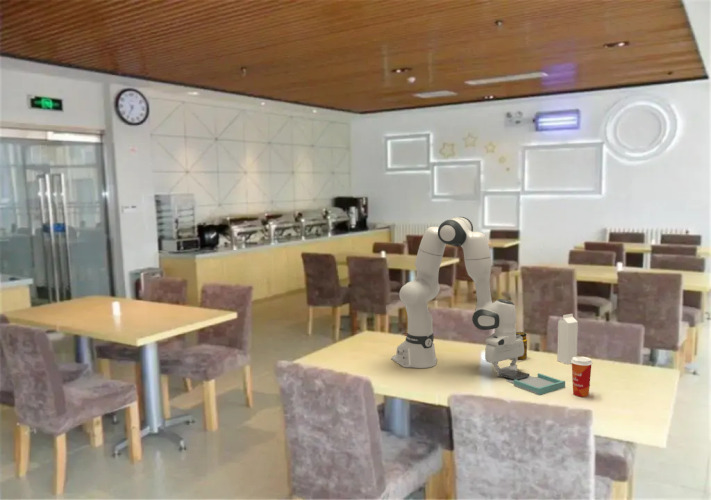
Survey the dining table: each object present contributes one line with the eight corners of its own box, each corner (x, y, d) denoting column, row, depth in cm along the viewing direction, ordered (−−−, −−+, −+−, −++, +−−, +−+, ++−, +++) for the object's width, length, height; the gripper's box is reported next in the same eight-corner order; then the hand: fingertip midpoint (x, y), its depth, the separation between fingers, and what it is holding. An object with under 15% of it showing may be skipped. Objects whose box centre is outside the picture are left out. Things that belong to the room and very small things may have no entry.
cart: (497, 377, 246) (497, 369, 245) (515, 372, 252) (515, 364, 251) (513, 382, 238) (513, 373, 238) (532, 377, 244) (531, 368, 244)
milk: (557, 361, 267) (557, 313, 264) (566, 359, 269) (567, 312, 267) (567, 364, 261) (568, 316, 259) (577, 362, 264) (578, 314, 262)
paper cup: (566, 391, 228) (567, 356, 226) (585, 390, 229) (586, 355, 227) (575, 398, 220) (576, 362, 219) (595, 397, 221) (596, 361, 219)
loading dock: (502, 383, 241) (502, 375, 240) (527, 376, 249) (527, 368, 248) (539, 397, 225) (539, 388, 224) (565, 389, 232) (565, 381, 232)
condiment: (530, 358, 271) (531, 333, 270) (518, 362, 266) (518, 336, 265) (518, 355, 277) (518, 330, 276) (506, 358, 272) (506, 333, 271)
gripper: (516, 332, 256) (516, 363, 258) (482, 339, 245) (482, 371, 247) (527, 335, 251) (527, 366, 252) (493, 343, 240) (493, 375, 241)
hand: (505, 369), depth 249 cm, fingers open, 8 cm apart
